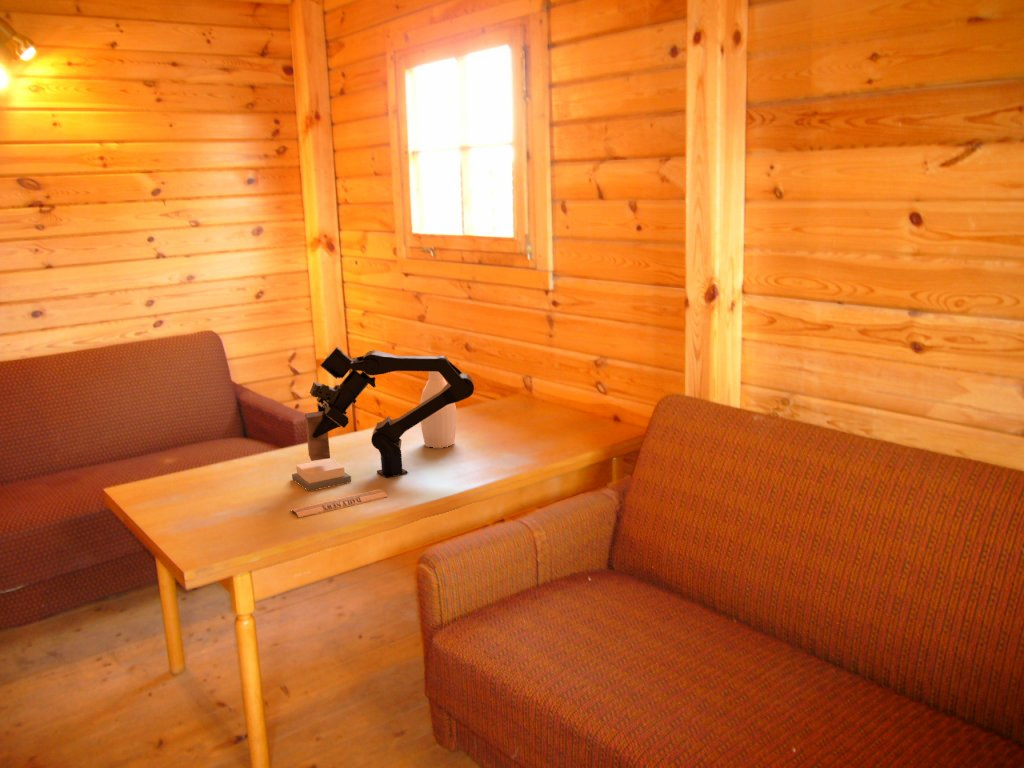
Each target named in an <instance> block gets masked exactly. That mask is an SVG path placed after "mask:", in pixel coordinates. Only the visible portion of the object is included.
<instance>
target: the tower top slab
mask: <svg viewBox="0 0 1024 768" xmlns="http://www.w3.org/2000/svg"><path fill="white" fill-rule="evenodd" d="M295 466H296V473H297V474H298V475H299V476H301V477H302V478H303V479H304V480H305V481H307V482H308V483H314V482H318V481H323V480H328V479H333V478H338V477H343V476H345V473H346V472H345V466H343V465H342V464H340V463H339V462H337V461H336V460H335V459H334V458H331V457H330V458H329V459H322V460H315V461H310V462H306V463H298V464H296V465H295ZM344 472H345V473H344Z"/></svg>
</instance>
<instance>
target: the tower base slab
mask: <svg viewBox="0 0 1024 768" xmlns="http://www.w3.org/2000/svg"><path fill="white" fill-rule="evenodd" d="M344 473H345V476H343V477H338V478H333V479H328V480H323V481H318V482H314V483H308V482H307V481H305V480H304V479H303V478H302V477H301V476H299V475H298V474H297V472H295V473H291V479H293V480H294V481H293V480H292V481H293V482H295V481H296V482H297V483H299V484H300V485H301V486H300V485H299V484H298V485H299V486H300V487H302V486H303V487H304V488H303V487H302V488H303V489H305V488H306V489H307V490H308V491H307V490H306V489H305V490H306V491H307V492H309V491H310V492H312V491H311V490H314V491H317V490H316V489H318V490H320V489H319V488H323V489H325V488H324V487H327V488H329V487H328V486H331V487H334V486H333V485H335V486H339V485H338V484H340V485H343V484H342V483H344V484H347V482H348V483H351V482H352V477H351V475H350V474H349V473H346V472H345V471H344ZM296 482H295V483H296ZM297 483H296V484H297Z"/></svg>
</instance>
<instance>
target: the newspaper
mask: <svg viewBox="0 0 1024 768" xmlns="http://www.w3.org/2000/svg"><path fill="white" fill-rule="evenodd" d="M384 497H387V498H388V494H387V493H386V492H385V491H383V490H382V489H379V488H378V489H374V490H370V491H366V492H360V493H356V494H352V495H348V496H343V497H339V498H335V499H331V500H326V501H321V502H317V503H314V504H309V505H304V506H300V507H295V508H293V509H292V508H291V509H290V512H295V515H297V517H298V519H300V518H299V517H302V518H304V517H303V516H306V517H308V516H307V515H310V516H314V515H313V514H315V515H317V514H316V513H319V514H322V513H321V512H323V513H326V512H325V511H327V512H331V511H330V510H332V511H335V510H334V509H336V510H338V509H337V508H340V509H342V508H341V507H344V508H348V507H347V506H349V507H352V506H351V505H353V506H356V505H355V504H357V505H360V504H359V503H361V504H365V503H369V501H370V502H373V501H372V500H374V501H377V500H376V499H378V500H381V499H380V498H382V499H385V498H384ZM291 510H292V511H291Z"/></svg>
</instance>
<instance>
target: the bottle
mask: <svg viewBox="0 0 1024 768" xmlns="http://www.w3.org/2000/svg"><path fill="white" fill-rule="evenodd" d="M447 384H448V382H447V381H446V380H445V378H444V377H443V376H442V375H441V374H440V373H439V372H437V371H428V380H427V381H426V384H425V386H424V388H423V389H422V393H421V396H420V399H419V400H420V401H419V405H420V404H421V403H423V402H424V401H426V400H428V399H429V398H431V397H432V396H434V395H435V394H437V393H439V392H440V391H441V390H442V389H443V388H444V387H445V386H446V385H447ZM420 427H421V433H422V438H423V443H424V445H425V446H426V447H427V446H428V447H427V448H429V447H433V448H432V449H444V448H443V447H447V446H450V445H452V444H453V445H454V443H455V441H456V440H455V439H456V433H457V432H456V431H457V407H456V403H452V404H448V405H446V406H445V407H443V408H442V409H440V410H438V411H437V412H435V413H434V414H432V415H431V416H429V417H427V418H426V419H424V420H423V421H421V422H420ZM453 445H452V446H453ZM450 447H451V446H450ZM447 448H448V447H447Z"/></svg>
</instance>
